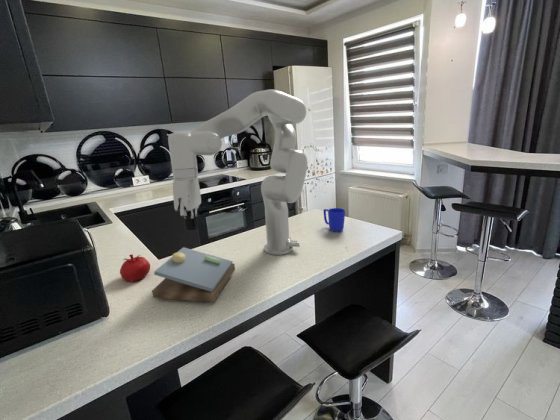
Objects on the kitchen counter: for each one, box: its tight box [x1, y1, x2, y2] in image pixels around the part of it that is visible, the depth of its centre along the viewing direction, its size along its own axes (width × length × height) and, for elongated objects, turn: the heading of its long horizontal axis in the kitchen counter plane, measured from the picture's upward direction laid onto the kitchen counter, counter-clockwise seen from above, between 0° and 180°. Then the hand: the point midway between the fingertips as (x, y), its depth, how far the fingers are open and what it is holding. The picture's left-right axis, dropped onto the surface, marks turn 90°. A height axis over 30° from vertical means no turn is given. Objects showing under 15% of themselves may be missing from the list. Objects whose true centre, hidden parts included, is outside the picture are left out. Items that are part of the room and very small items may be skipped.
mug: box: [323, 207, 346, 232], centre depth 144 cm, size 8×12×10 cm
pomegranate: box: [119, 253, 151, 283], centre depth 106 cm, size 10×10×9 cm
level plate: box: [153, 246, 233, 292], centre depth 96 cm, size 19×18×3 cm
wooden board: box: [151, 262, 236, 303], centre depth 98 cm, size 20×20×4 cm
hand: (192, 229), depth 96 cm, fingers closed
